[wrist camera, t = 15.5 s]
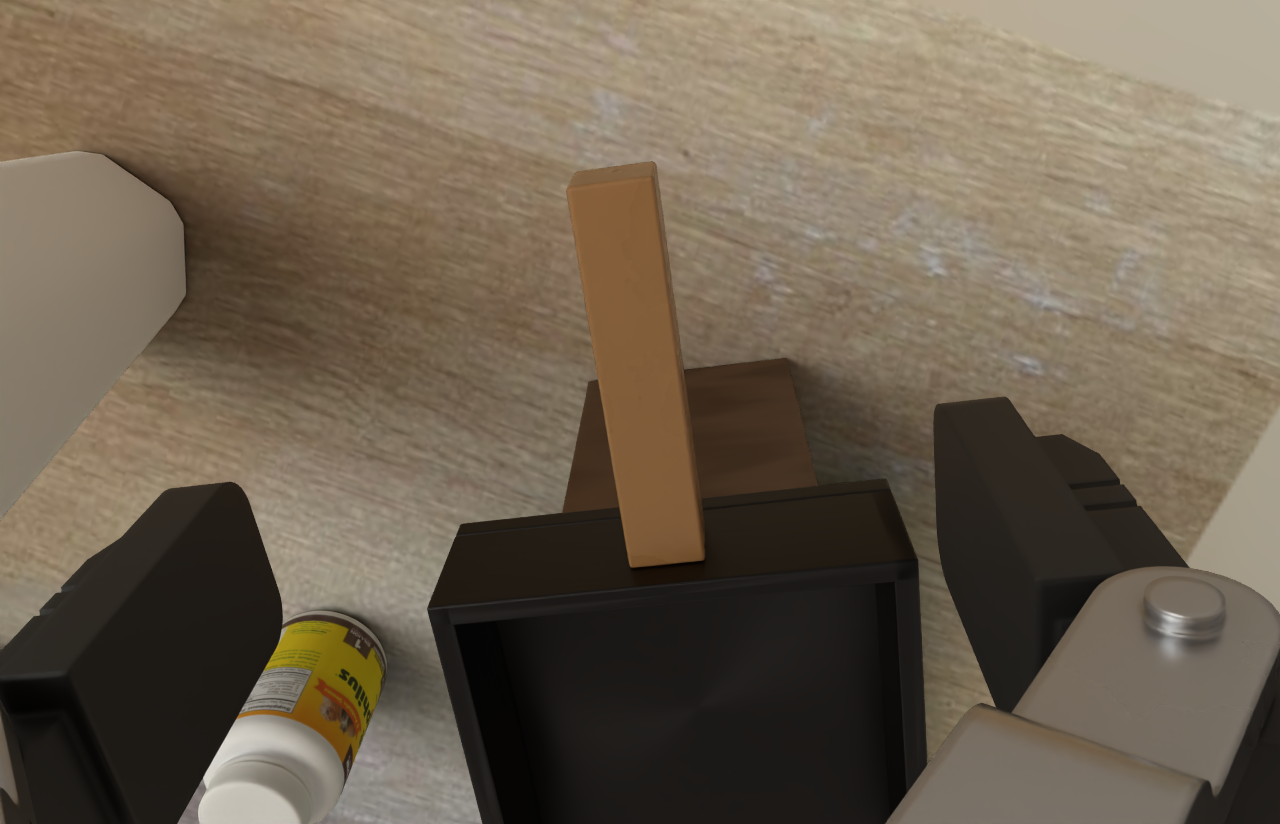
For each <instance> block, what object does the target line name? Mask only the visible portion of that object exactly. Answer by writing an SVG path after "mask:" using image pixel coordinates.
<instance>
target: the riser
mask: <svg viewBox="0 0 1280 824" xmlns="http://www.w3.org/2000/svg"><path fill="white" fill-rule="evenodd" d="M684 375H685V383H686V390H687V398H688V405H689V412H690V420H691V427H692V435H693V442H694V450H695V457H696V465H697V472H698V480H699V487H700V495H701V498H707V497H717V496H726V495H735V494H745V493H754V492H764V491H773V490H782V489H792V488H801V487H810V486H818V483H817V479H816V475H815V471H814V466H813V462H812V458H811V454H810V450H809V446H808V442H807V438H806V434H805V430H804V426H803V422H802V418H801V414H800V409H799V405H798V401H797V397H796V393H795V389H794V385H793V381H792V377H791V373H790V369H789V365H788V361H787V358H782V359H774V360H765V361H757V362H748V363H740V364H731V365H723V366H714V367H706V368H697V369H689V370H684ZM614 507H619V502H618V496H617V490H616V484H615V478H614V472H613V466H612V460H611V454H610V448H609V442H608V436H607V430H606V424H605V418H604V412H603V406H602V400H601V394H600V388H599V382H598V380H596V381H590V382H589V383H588V388H587V393H586V398H585V403H584V408H583V413H582V418H581V423H580V428H579V433H578V438H577V442H576V447H575V452H574V457H573V462H572V467H571V472H570V477H569V482H568V487H567V492H566V497H565V501H564V506H563V511H562V513H567V512H577V511H586V510H595V509H605V508H614Z"/></svg>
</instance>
